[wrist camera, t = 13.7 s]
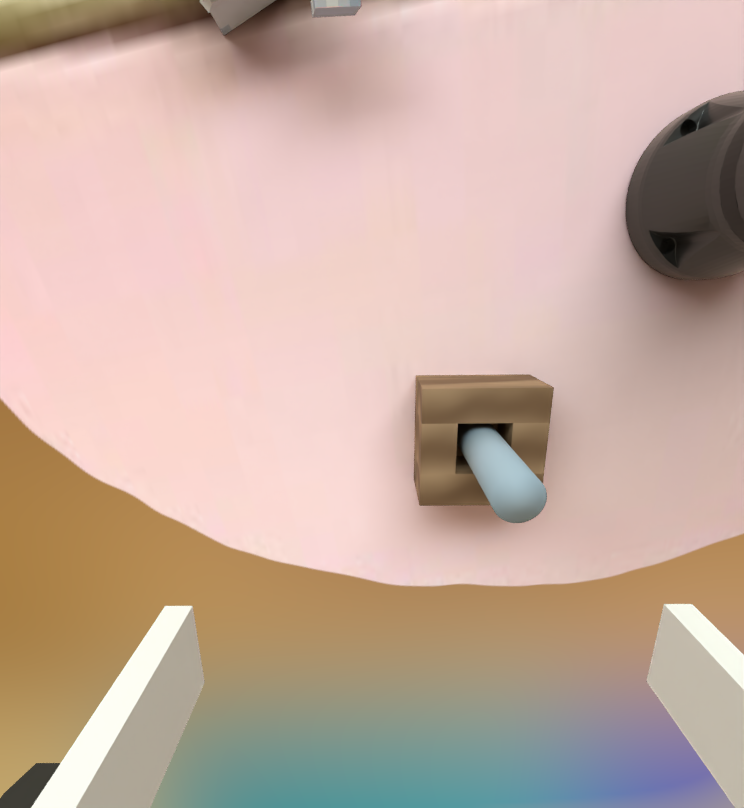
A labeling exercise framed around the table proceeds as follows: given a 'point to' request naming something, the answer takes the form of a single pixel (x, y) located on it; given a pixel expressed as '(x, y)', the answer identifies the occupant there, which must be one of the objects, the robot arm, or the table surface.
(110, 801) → the robot arm
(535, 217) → the table surface
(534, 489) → the pin
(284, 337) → the table surface
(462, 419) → the socket block
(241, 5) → the toy
